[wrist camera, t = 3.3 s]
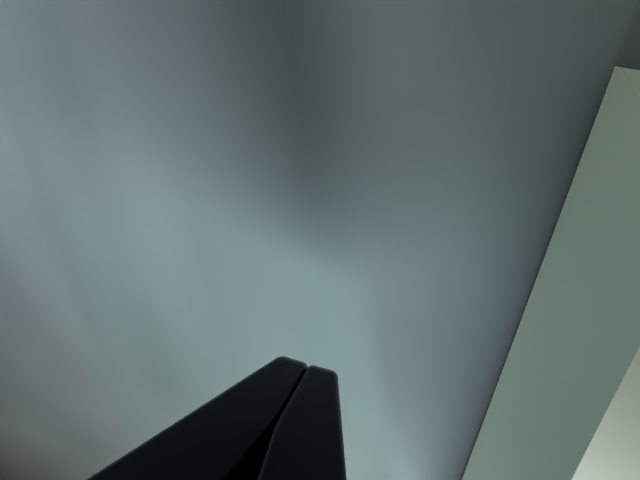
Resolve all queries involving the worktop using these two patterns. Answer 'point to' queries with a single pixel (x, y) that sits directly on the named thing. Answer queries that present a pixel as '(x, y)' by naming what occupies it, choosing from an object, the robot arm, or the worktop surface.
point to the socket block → (579, 325)
